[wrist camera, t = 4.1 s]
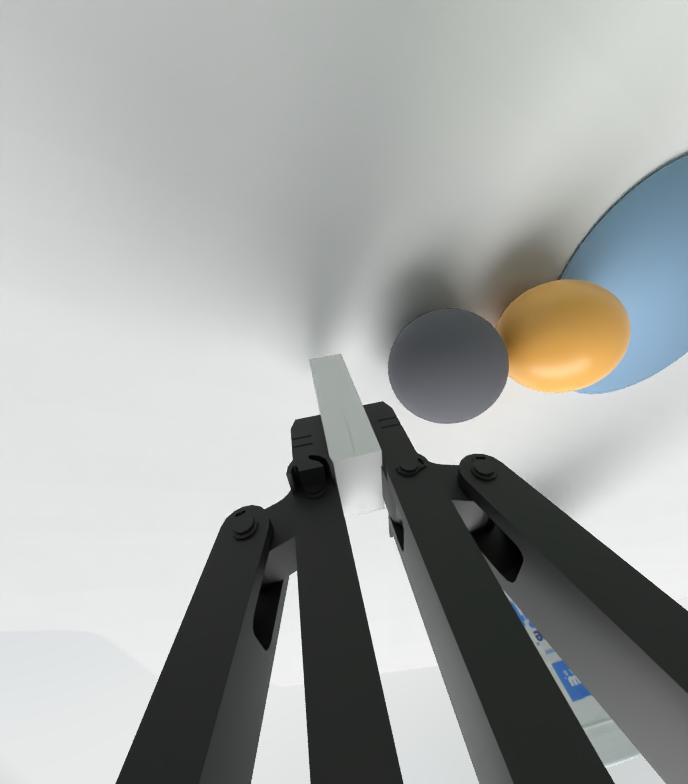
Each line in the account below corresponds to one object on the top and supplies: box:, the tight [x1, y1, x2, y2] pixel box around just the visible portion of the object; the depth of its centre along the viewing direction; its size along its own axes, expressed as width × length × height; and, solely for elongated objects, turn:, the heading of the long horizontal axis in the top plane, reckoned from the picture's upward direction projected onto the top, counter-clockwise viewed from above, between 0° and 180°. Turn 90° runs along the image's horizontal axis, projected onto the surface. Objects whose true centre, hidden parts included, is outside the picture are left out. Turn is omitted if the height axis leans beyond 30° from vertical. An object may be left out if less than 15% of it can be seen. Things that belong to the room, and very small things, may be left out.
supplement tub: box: [503, 590, 642, 768], centre depth 27 cm, size 10×10×15 cm
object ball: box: [496, 279, 631, 393], centre depth 15 cm, size 6×6×6 cm
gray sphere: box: [388, 309, 509, 424], centre depth 15 cm, size 6×6×6 cm
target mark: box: [560, 155, 688, 394], centre depth 18 cm, size 14×14×1 cm
